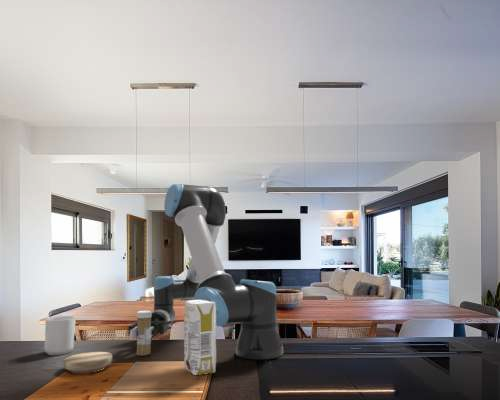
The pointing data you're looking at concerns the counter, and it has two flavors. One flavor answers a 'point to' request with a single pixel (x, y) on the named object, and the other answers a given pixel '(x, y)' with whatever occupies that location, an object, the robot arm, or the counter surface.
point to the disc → (87, 362)
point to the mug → (59, 335)
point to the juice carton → (200, 336)
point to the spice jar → (143, 332)
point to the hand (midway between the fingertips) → (139, 335)
